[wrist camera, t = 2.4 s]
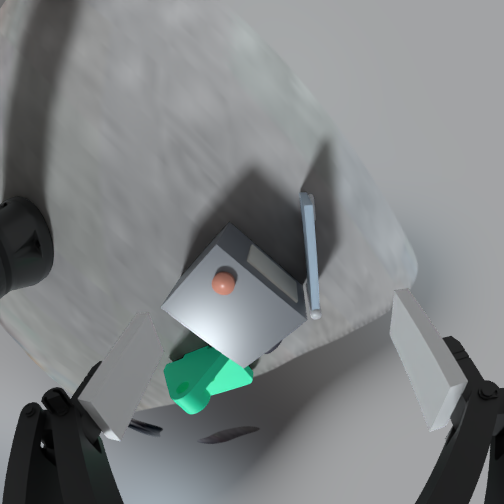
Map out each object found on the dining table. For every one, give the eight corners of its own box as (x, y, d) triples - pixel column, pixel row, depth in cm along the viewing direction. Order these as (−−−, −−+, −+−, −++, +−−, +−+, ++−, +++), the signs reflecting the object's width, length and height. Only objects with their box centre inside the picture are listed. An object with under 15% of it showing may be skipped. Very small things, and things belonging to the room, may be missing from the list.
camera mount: (196, 389, 46) (182, 435, 36) (168, 359, 44) (147, 406, 34) (256, 369, 43) (250, 422, 33) (228, 336, 40) (215, 389, 31)
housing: (256, 336, 40) (251, 377, 32) (180, 276, 37) (158, 310, 30) (311, 290, 36) (317, 329, 29) (230, 220, 34) (216, 245, 26)
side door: (306, 289, 36) (310, 320, 30) (297, 191, 32) (301, 203, 26) (317, 288, 36) (323, 318, 30) (309, 189, 32) (316, 202, 25)
